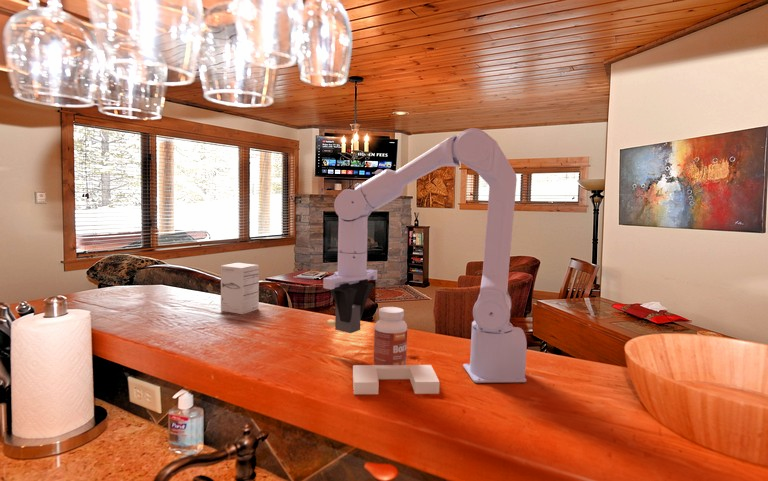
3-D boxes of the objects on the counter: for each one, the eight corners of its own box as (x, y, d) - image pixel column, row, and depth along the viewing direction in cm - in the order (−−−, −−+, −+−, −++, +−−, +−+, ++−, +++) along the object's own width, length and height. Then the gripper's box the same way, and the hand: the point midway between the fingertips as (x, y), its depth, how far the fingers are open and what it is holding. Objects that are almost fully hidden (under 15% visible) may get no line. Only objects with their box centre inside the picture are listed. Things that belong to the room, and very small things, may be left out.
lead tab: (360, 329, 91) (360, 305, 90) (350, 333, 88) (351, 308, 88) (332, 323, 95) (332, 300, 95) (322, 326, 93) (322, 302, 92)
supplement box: (219, 311, 122) (219, 265, 120) (238, 306, 128) (238, 261, 127) (241, 315, 119) (241, 267, 118) (259, 309, 126) (259, 264, 124)
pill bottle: (396, 376, 81) (398, 315, 80) (367, 368, 84) (368, 310, 83) (411, 365, 86) (413, 308, 85) (383, 359, 89) (385, 304, 88)
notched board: (430, 375, 82) (430, 364, 81) (439, 393, 74) (439, 381, 74) (352, 376, 80) (353, 365, 80) (353, 394, 73) (353, 382, 73)
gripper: (359, 247, 97) (357, 309, 98) (311, 253, 85) (310, 323, 86) (386, 250, 93) (384, 314, 94) (340, 256, 81) (338, 330, 82)
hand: (351, 319), depth 90 cm, fingers closed on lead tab, 3 cm apart
